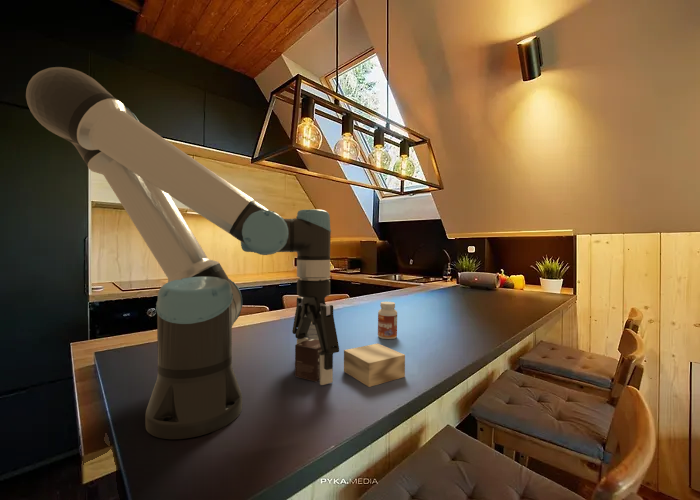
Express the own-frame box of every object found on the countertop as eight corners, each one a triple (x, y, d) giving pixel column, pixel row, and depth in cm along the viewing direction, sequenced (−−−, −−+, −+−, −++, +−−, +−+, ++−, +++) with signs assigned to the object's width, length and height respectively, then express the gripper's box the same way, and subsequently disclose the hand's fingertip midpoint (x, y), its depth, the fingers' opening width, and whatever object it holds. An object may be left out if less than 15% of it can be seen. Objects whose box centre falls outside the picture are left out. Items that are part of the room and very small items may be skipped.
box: (316, 382, 71) (316, 349, 71) (294, 377, 74) (294, 344, 74) (331, 373, 76) (331, 341, 76) (310, 368, 79) (310, 338, 79)
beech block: (368, 387, 69) (369, 363, 69) (343, 371, 77) (343, 350, 77) (404, 376, 74) (405, 354, 74) (377, 363, 82) (377, 343, 82)
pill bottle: (374, 338, 105) (374, 303, 104) (382, 333, 110) (382, 300, 110) (393, 340, 102) (393, 305, 102) (399, 336, 107) (399, 302, 107)
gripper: (356, 282, 67) (356, 389, 67) (306, 273, 87) (306, 355, 87) (323, 284, 63) (323, 398, 63) (279, 274, 83) (279, 361, 83)
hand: (313, 373), depth 75 cm, fingers open, 11 cm apart
